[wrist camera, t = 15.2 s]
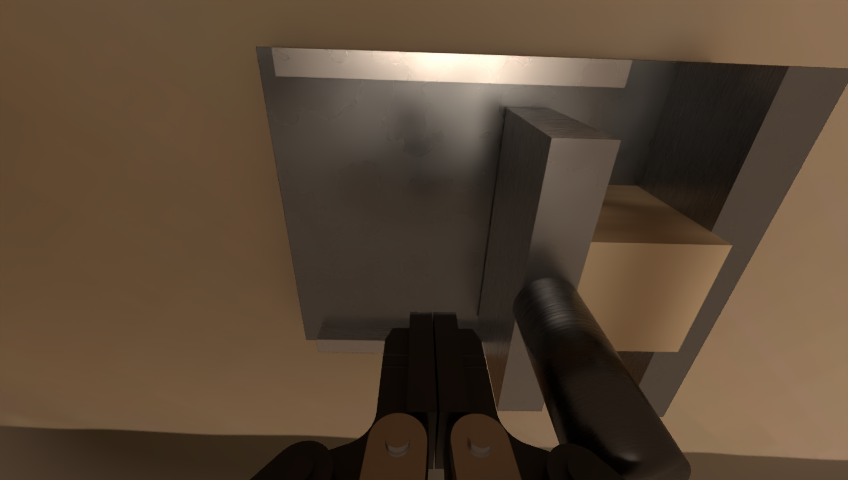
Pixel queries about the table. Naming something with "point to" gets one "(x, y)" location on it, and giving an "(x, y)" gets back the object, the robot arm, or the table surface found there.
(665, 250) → the maple block
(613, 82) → the press
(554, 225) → the jaw
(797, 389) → the table surface
